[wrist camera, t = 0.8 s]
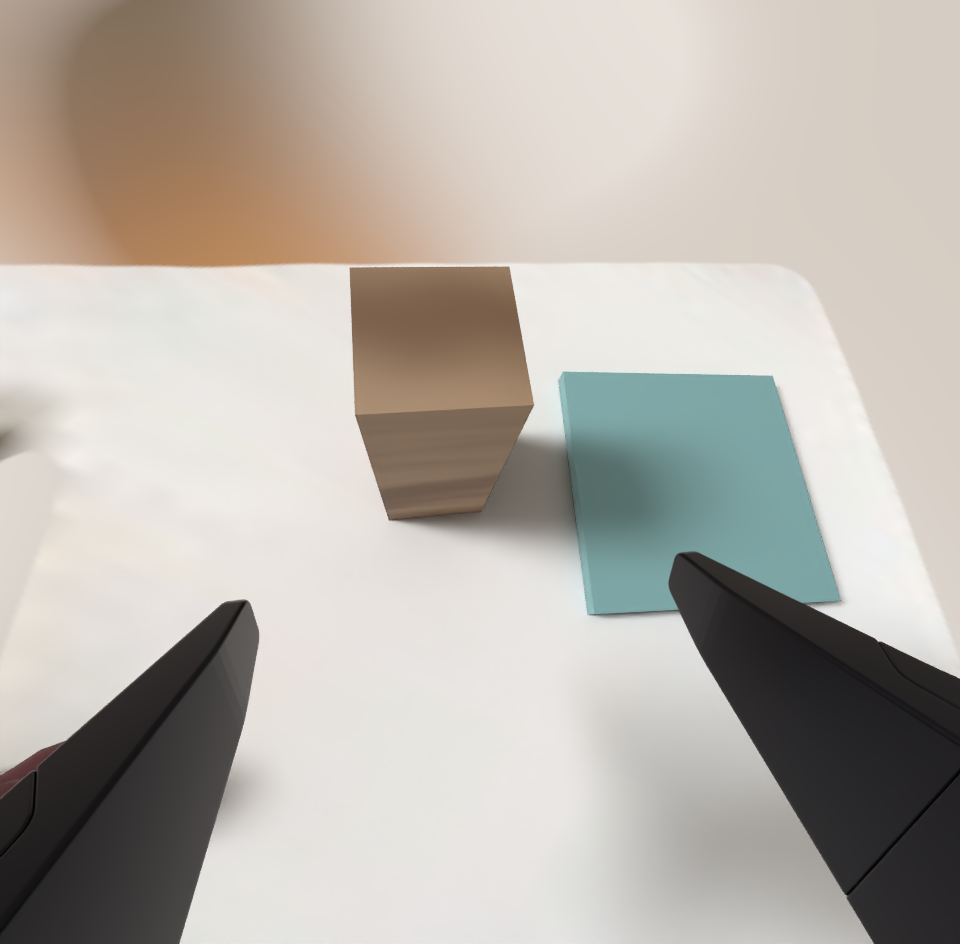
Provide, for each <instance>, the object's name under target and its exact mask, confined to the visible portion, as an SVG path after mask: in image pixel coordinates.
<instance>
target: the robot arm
mask: <svg viewBox="0 0 960 944" xmlns="http://www.w3.org/2000/svg"><path fill="white" fill-rule="evenodd" d="M668 586H669V590H670V593H671V595H672V597H673V599H674V601H675V603H676V606H677V608H678V610H679V612H680V614H681V616H682V618H683V620H684V622H685V624H686V627H687V629H688V631H689V633H690V635H691V637H692V639H693V641H694V643H695V645H696V647H697V649H698V651H699V653H700V655H701V656H702V658H703V660H704V662H705V663H706V665H707V667H708V668H709V670H710V672H711V673H712V675H713V677H714V678H715V680H716V682H717V683H718V685H719V687H720V688H721V690H722V692H723V693H724V695H725V697H726V698H727V700H728V702H729V703H730V705H731V707H732V708H733V710H734V712H735V713H736V715H737V717H738V718H739V720H740V722H741V723H742V725H743V727H744V728H745V730H746V732H747V733H748V735H749V736H750V738H751V740H752V741H753V743H754V745H755V746H756V748H757V750H758V751H759V753H760V755H761V756H762V758H763V760H764V761H765V763H766V765H767V766H768V768H769V770H770V771H771V773H772V775H773V776H774V778H775V780H776V781H777V783H778V785H779V786H780V788H781V790H782V791H783V793H784V795H785V796H786V798H787V800H788V801H789V803H790V804H791V806H792V808H793V809H794V811H795V813H796V814H797V816H798V818H799V819H800V821H801V823H802V824H803V826H804V828H805V829H806V831H807V833H808V834H809V836H810V838H811V839H812V841H813V843H814V844H815V846H816V848H817V849H818V851H819V853H820V854H821V856H822V858H823V859H824V861H825V863H826V864H827V866H828V868H829V869H830V871H831V873H832V874H833V876H834V877H835V879H836V881H837V882H838V884H839V886H840V887H841V889H842V891H843V892H844V894H845V895H847V900H848V901H849V903H850V905H851V906H852V908H853V910H854V911H855V913H856V915H857V916H858V918H859V920H860V921H861V923H862V925H863V926H864V928H865V929H866V931H867V933H868V934H869V936H870V938H871V939H872V941H873V943H874V944H960V679H959V678H957V677H955V676H953V675H950V674H948V673H946V672H944V671H941V670H939V669H937V668H935V667H933V666H931V665H929V664H927V663H925V662H922V661H920V660H918V659H916V658H914V657H912V656H910V655H908V654H906V653H903V652H901V651H899V650H897V649H895V648H893V647H891V646H889V645H887V644H885V643H883V642H878V641H877V640H876V639H875V638H873V637H871V636H869V635H867V634H865V633H862V632H860V631H858V630H856V629H854V628H852V627H850V626H848V625H846V624H844V623H842V622H840V621H838V620H836V619H834V618H832V617H830V616H828V615H826V614H824V613H822V612H819V611H817V610H815V609H813V608H811V607H809V606H807V605H805V604H803V603H801V602H799V601H797V600H795V599H793V598H791V597H789V596H787V595H785V594H783V593H781V592H779V591H776V590H774V589H772V588H770V587H768V586H766V585H764V584H762V583H760V582H758V581H756V580H754V579H752V578H750V577H748V576H746V575H744V574H742V573H740V572H738V571H736V570H734V569H731V568H729V567H727V566H725V565H723V564H721V563H719V562H717V561H715V560H713V559H711V558H709V557H707V556H705V555H703V554H701V553H699V552H696V551H688V552H680V553H678V554H677V555H676V556H675V558H674V561H673V565H672V569H671V572H670V576H669V580H668ZM258 644H259V629H258V626H257V623H256V620H255V617H254V613H253V610H252V607H251V604H250V603H249V601H247V600H235V601H227V602H224V603H223V604H221V605H220V606H219V607H218V608H217V609H215V610H214V611H213V612H212V613H211V614H210V615H209V616H208V617H206V618H205V619H204V620H203V621H202V622H201V623H200V624H198V625H197V626H196V627H195V628H194V629H193V630H192V631H190V632H189V633H188V634H187V635H186V636H185V637H184V638H182V639H181V640H180V641H179V642H178V643H177V644H176V645H174V646H173V647H172V648H171V649H170V650H169V651H168V652H166V653H165V654H164V655H163V656H162V657H161V658H160V659H159V660H157V661H156V662H155V663H154V664H153V665H152V666H151V667H149V668H148V669H147V670H146V671H145V672H144V673H143V674H141V675H140V676H139V677H138V678H137V679H136V680H135V681H133V682H132V683H131V684H130V685H129V686H128V687H127V688H125V689H124V690H123V691H122V692H121V693H120V694H119V695H117V696H116V697H115V698H114V699H113V700H112V701H111V702H110V703H108V704H107V705H106V706H105V707H104V708H103V709H102V710H100V711H99V712H98V713H97V714H96V715H95V716H94V717H92V718H91V719H90V720H89V721H88V722H87V723H86V724H84V725H83V726H82V727H81V728H80V729H79V730H78V731H76V732H75V733H74V734H73V735H72V736H71V737H70V738H68V739H67V740H66V741H65V742H64V743H63V744H62V745H61V746H59V747H58V748H57V749H56V750H55V751H54V752H53V753H51V754H50V755H49V756H48V757H47V758H46V759H45V760H43V761H42V762H41V763H40V764H39V765H38V766H37V770H34V771H31V772H30V773H28V774H27V775H26V776H25V777H24V778H23V779H22V780H20V781H19V782H18V783H17V784H16V785H15V786H14V787H12V788H11V789H10V790H9V791H8V792H7V793H6V794H4V795H3V796H2V797H1V798H0V944H179V943H180V939H181V936H182V933H183V929H184V926H185V922H186V919H187V916H188V912H189V909H190V905H191V902H192V899H193V895H194V892H195V888H196V885H197V882H198V878H199V875H200V871H201V868H202V865H203V861H204V858H205V854H206V851H207V848H208V844H209V841H210V837H211V834H212V831H213V827H214V824H215V820H216V817H217V814H218V810H219V807H220V803H221V800H222V797H223V793H224V790H225V786H226V783H227V780H228V776H229V773H230V769H231V766H232V763H233V759H234V756H235V752H236V749H237V746H238V742H239V739H240V735H241V732H242V728H243V724H244V721H245V716H246V711H247V706H248V701H249V695H250V689H251V683H252V678H253V672H254V666H255V661H256V655H257V649H258Z"/></svg>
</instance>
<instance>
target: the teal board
mask: <svg viewBox="0 0 960 944" xmlns="http://www.w3.org/2000/svg"><path fill="white" fill-rule="evenodd" d="M558 381H559V389H560V397H561V405H562V413H563V421H564V429H565V437H566V445H567V453H568V461H569V469H570V477H571V485H572V493H573V501H574V509H575V517H576V525H577V533H578V541H579V549H580V557H581V565H582V573H583V581H584V589H585V597H586V605H587V613H588V615H590V614H608V613H627V612H645V611H664V610H678V608H677V606H676V603H675V601H674V599H673V597H672V595H671V593H670V590H669V586H668V580H669V576H670V572H671V569H672V565H673V561H674V558H675V556H676V555H677V554H678V553H680V552H688V551H696V552H699V553H701V554H703V555H705V556H707V557H709V558H711V559H713V560H715V561H717V562H719V563H721V564H723V565H725V566H727V567H729V568H731V569H734V570H736V571H738V572H740V573H742V574H744V575H746V576H748V577H750V578H752V579H754V580H756V581H758V582H760V583H762V584H764V585H766V586H768V587H770V588H772V589H774V590H776V591H779V592H781V593H783V594H785V595H787V596H789V597H791V598H793V599H795V600H797V601H799V602H801V603H811V602H829V601H841V600H840V596H839V593H838V590H837V587H836V583H835V580H834V577H833V573H832V570H831V567H830V564H829V560H828V557H827V554H826V550H825V547H824V544H823V540H822V537H821V534H820V531H819V527H818V524H817V521H816V517H815V514H814V511H813V508H812V504H811V501H810V498H809V494H808V491H807V488H806V484H805V481H804V478H803V475H802V471H801V468H800V465H799V461H798V458H797V455H796V452H795V448H794V445H793V442H792V438H791V435H790V432H789V428H788V425H787V422H786V419H785V415H784V412H783V409H782V405H781V402H780V399H779V396H778V392H777V389H776V386H775V382H774V379H773V376H751V375H701V374H650V373H599V372H563V373H562V375H561V377H560V378H559V380H558Z"/></svg>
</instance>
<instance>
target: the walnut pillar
mask: <svg viewBox="0 0 960 944" xmlns="http://www.w3.org/2000/svg"><path fill="white" fill-rule="evenodd" d="M350 287H351V315H352V342H353V369H354V397H355V416H356V419H357V422H358V425H359V428H360V432H361V435H362V438H363V441H364V444H365V447H366V450H367V453H368V456H369V460H370V463H371V466H372V469H373V472H374V475H375V478H376V481H377V484H378V488H379V491H380V494H381V497H382V500H383V503H384V506H385V509H386V512H387V516H388V519H389V520H394V519H405V518H416V517H427V516H438V515H449V514H460V513H471V512H481V511H482V509H483V507H484V505H485V503H486V501H487V499H488V497H489V495H490V493H491V491H492V489H493V487H494V485H495V483H496V481H497V479H498V477H499V475H500V473H501V471H502V469H503V466H504V464H505V462H506V460H507V458H508V456H509V454H510V452H511V450H512V448H513V446H514V444H515V442H516V440H517V438H518V436H519V434H520V432H521V430H522V428H523V426H524V424H525V422H526V420H527V418H528V416H529V414H530V412H531V410H532V408H533V406H534V403H533V397H532V391H531V386H530V380H529V374H528V369H527V363H526V358H525V352H524V346H523V341H522V335H521V330H520V324H519V318H518V313H517V307H516V302H515V296H514V290H513V285H512V279H511V274H510V268H509V267H371V268H350Z"/></svg>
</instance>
